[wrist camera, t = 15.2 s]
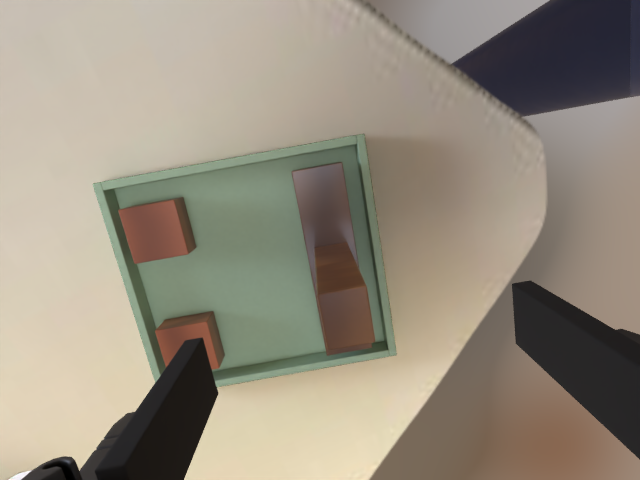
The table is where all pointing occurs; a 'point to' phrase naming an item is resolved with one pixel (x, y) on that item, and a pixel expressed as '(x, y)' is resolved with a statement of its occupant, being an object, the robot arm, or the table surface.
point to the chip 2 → (191, 336)
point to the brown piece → (333, 258)
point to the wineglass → (19, 475)
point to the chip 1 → (158, 230)
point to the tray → (249, 259)
